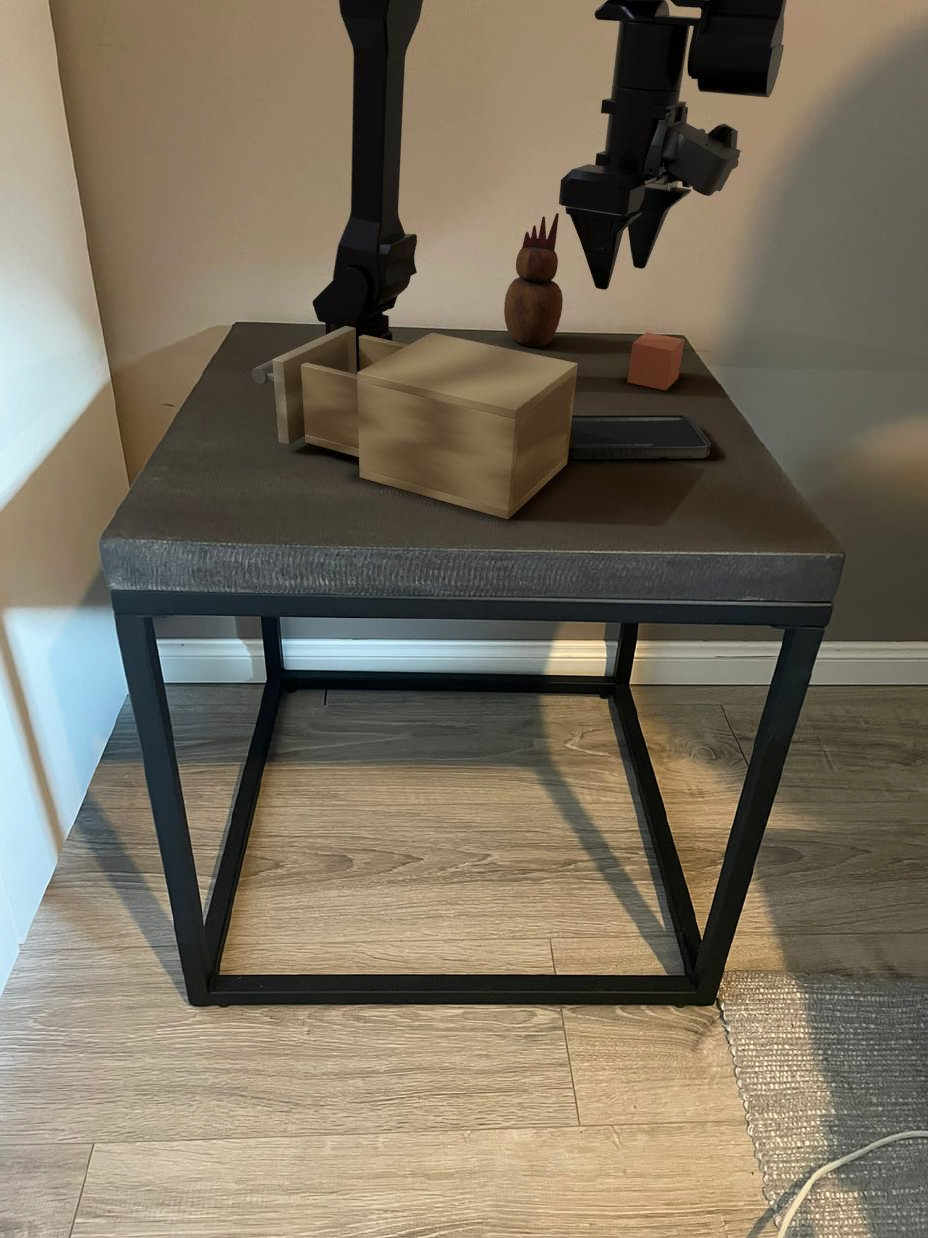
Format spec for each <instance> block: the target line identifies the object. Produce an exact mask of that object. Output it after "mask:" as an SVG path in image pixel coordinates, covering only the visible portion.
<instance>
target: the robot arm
mask: <svg viewBox="0 0 928 1238" xmlns="http://www.w3.org/2000/svg"><path fill="white" fill-rule="evenodd" d="M669 1H670V2H671V3H672V4H673V5H674V6H675V7H677V8H694V9H695V8H696V9H700V16H698V17H696V16H693V17H692V16H680V15H671V14H670V6H669V4H668V1H667V0H606V1H605V2H604V3H602V5H601V6H599V7H598V8H597V9H596V10H595V11H594V14H593V15H594V18H595V19H596V20H598V21H609V22H611V21H612V22H618V33H617V39H616V49H615V58H614V67H613V75H612V84H611V94H610V97H609V98H604V99H601V107H600V114H606V115H608V120H607V128H606V135H605V136H606V137H605V145H604V150H603V151H600V152H597V153H596V154H595V162H594V164H590V163H587V164H585V165H582V166H578V167H574V168H572V169H570V170H569V172H567V173H566V174H565V175H564V176H563V177H562V178H561V179H560V183H559V184H560V186H559V197H558V205H560V206H561V207H565V214H567V215H569V217H570V219H571V222H572V224H573V227H574V230H575V232H576V234H577V237H578V239H579V242H580V245H581V248H582V250H583V253H584V257H585V260H586V263H587V266H588V269H589V272H590V275H591V278H592V281H593V284H594V287H595V289H598V290H603V291H606V290H607V289H609V286H610V283H611V280H612V277H613V273H614V270H615V265H616V261H617V258H618V254H619V249H620V246H621V242H622V239H623V235H624V231H625V229H627V231H628V239H629V247H630V254H631V260H632V265H633V267H634V268H635V269H640V270H641V269H642V270H643V269H645V268H646V266H647V265H648V263H649V260H650V258H651V256H652V255H651V254H652V252H653V250H654V247H655V245H656V242H657V241H658V237H659V235H660V232H661V230H662V228H663V225H664V224H665V223H664V222H665V221H666V218H667V216H668V214H669V212H670V210H671V208H672V207H673V206H675V205H676V204H678V203H679V202H680V201H681V200H683V199H684V198H685V197H687V196H688V195H689V194H690V193H691V192H692V190H693V191H695V192H696V193H699V194H701V195H703V196H706V197H711V196H713V194H714V193H716V192H721V191H723V188H724V186H725V185H726V183H727V181H728V179H729V177H730V175H731V173H732V171H733V170H734V169H736V168H737V167H738V166H739V163H740V162H739V158H740V155H741V152H742V150H740V149H738V137H739V131H738V130H737V129H735V128H734V127H732V126H731V125H729V124H726V123H721V124H719V125H716V126H715V127H714V128H713V129H711V130H710V131H709V132H708V133H707V132H706V130H705V129H704V128H696V127H695V126H693V125H691V124H689V123H688V122H687V120H688V114H689V107H688V106H687V105H686V104H687V101H681V100H680V95H681V88H682V82H683V75H684V68H685V62H686V55H687V76H688V77H690V79H692V80H696V81H697V82H696V83H697V89H698V91H699V92H700V93H701V92H702V93H712V94H721V95H723V94H725V95H734V96H735V95H736V96H743V97H744V96H747V97H758V98H770V96H771V95H772V93H773V92H774V88H775V86H776V82H777V78H778V75H779V71H780V69H781V68H780V67H781V63H782V58H783V54H784V47H785V45H784V44H783V38H784V31H785V30H784V29H785V12H786V7H787V0H669ZM423 3H424V0H338V5H339V13H340V16H341V19H342V22H343V25H344V28H345V30H346V33H347V36H348V38H349V41H350V44H351V47H352V54H353V63H352V65H353V66H352V68H353V70H352V114H351V116H352V117H351V118H352V124H351V125H352V126H351V170H350V171H351V173H350V174H351V177H350V179H351V180H350V181H351V182H350V212H349V217H348V219H347V222H346V224H345V226H344V230H343V232H342V234H341V237H340V239H339V241H338V244H337V247H336V248H337V249H336V254H335V260H334V266H333V273H332V280H331V281H330V283H328V284H327V286H325V288H324V289H323V290H321V292H320V293H318V295H317V296H316V297H315V298H314V299H313V300H312V303H311V304H312V307H313V309H314V312H315V316H316V318H317V321H318V322H319V323H323V324H324V327H325V335H327V334H329V333H331V332H333V331H335V330H338V329H340V328H342V327H344V326H348V327H353V328H356V365H357V372H359V371H360V360H359V337H360V336H362V335H367V336H372V337H377V338H381V339H386V340H390V341H393V332H392V330H390V316H389V315H387V314H384V313H385V312H387V311H388V310H392V309H394V308H395V305H396V303H397V300H398V296H399V295H401V294H402V293H403V292H404V291H405V290H407V288H408V286H409V284H410V282H411V278H412V276H414V275H417V273H418V271H417V268H416V262H415V260H416V259H415V257H416V256H415V254H416V249H417V245H418V236H417V234H416V233H406V232H405V230H404V227H403V224H402V222H401V219H400V216H399V200H400V199H399V198H400V178H401V177H400V176H401V157H402V132H403V115H404V113H403V111H404V110H403V109H404V91H405V90H404V89H405V66H406V56H407V50H408V48H409V46H410V43H411V41H412V38H413V35H414V33H415V31H416V29H417V26H418V23H419V21H420V18H421V14H422V9H423ZM691 27H693V28H692V33H691V37H690V43H689V48H688V42H689V35H690V28H691ZM687 49H688V54H687ZM679 182H681V185H682V187H680V186H678V185H679ZM690 188H692V189H690Z"/></svg>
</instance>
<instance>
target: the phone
mask: <svg viewBox="0 0 928 1238" xmlns="http://www.w3.org/2000/svg"><path fill="white" fill-rule="evenodd" d="M711 447H712V442H711V441H710V440H709V438H708V437H707V435H705V433H704V432H703V430H702V429H701V428H700V426H699V425H698V424H697V422H696V420H694V419H693V418H692V417H690V416H687V415H683V414H635V415H634V414H633V415H632V414H630V415H629V414H620V415H619V414H617V415H614V414H613V415H612V414H608V415H607V414H604V415H601V414H599V415H597V414H594V415H593V414H592V415H591V414H590V415H589V414H588V415H587V414H586V415H584V414H583V415H581V414H579V415H575V414H574V415H573V414H572V422H571V431H570V440H569V449H568V456H567V457H568V458H567V460H613V459H614V460H616V459H617V460H629V459H630V460H631V459H633V460H636V459H637V460H639V459H642V460H643V459H644V460H645V459H649V460H650V459H705V458H708V457H709V456H710V452H711Z"/></svg>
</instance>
